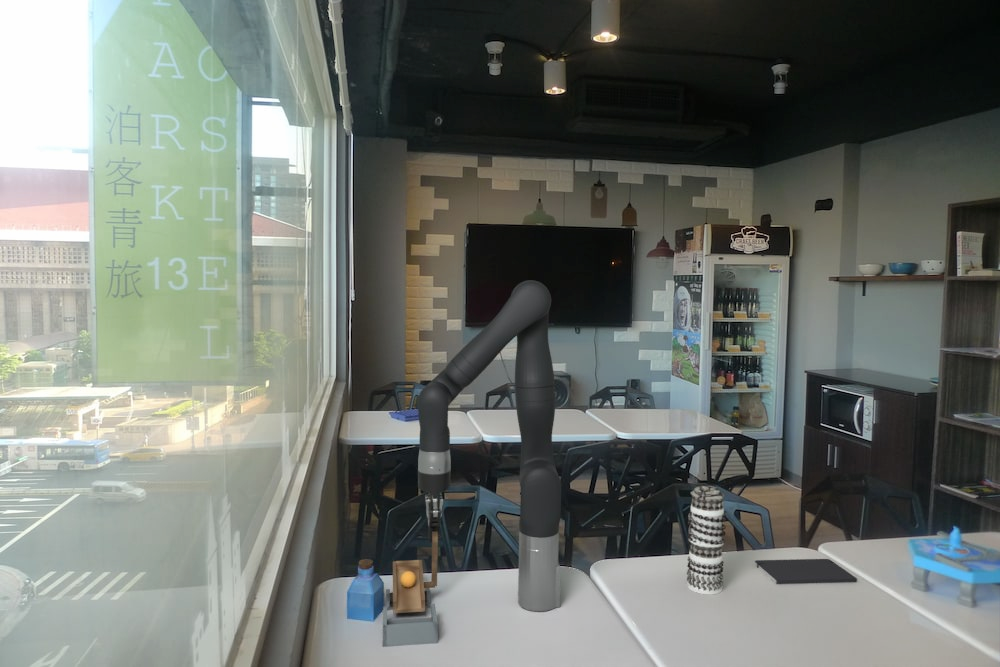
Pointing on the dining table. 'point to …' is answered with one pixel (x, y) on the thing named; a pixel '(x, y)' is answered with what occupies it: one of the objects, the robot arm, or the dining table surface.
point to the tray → (410, 630)
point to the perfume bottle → (365, 594)
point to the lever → (414, 595)
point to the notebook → (804, 571)
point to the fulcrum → (390, 599)
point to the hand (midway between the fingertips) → (433, 541)
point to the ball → (408, 579)
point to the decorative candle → (706, 540)
